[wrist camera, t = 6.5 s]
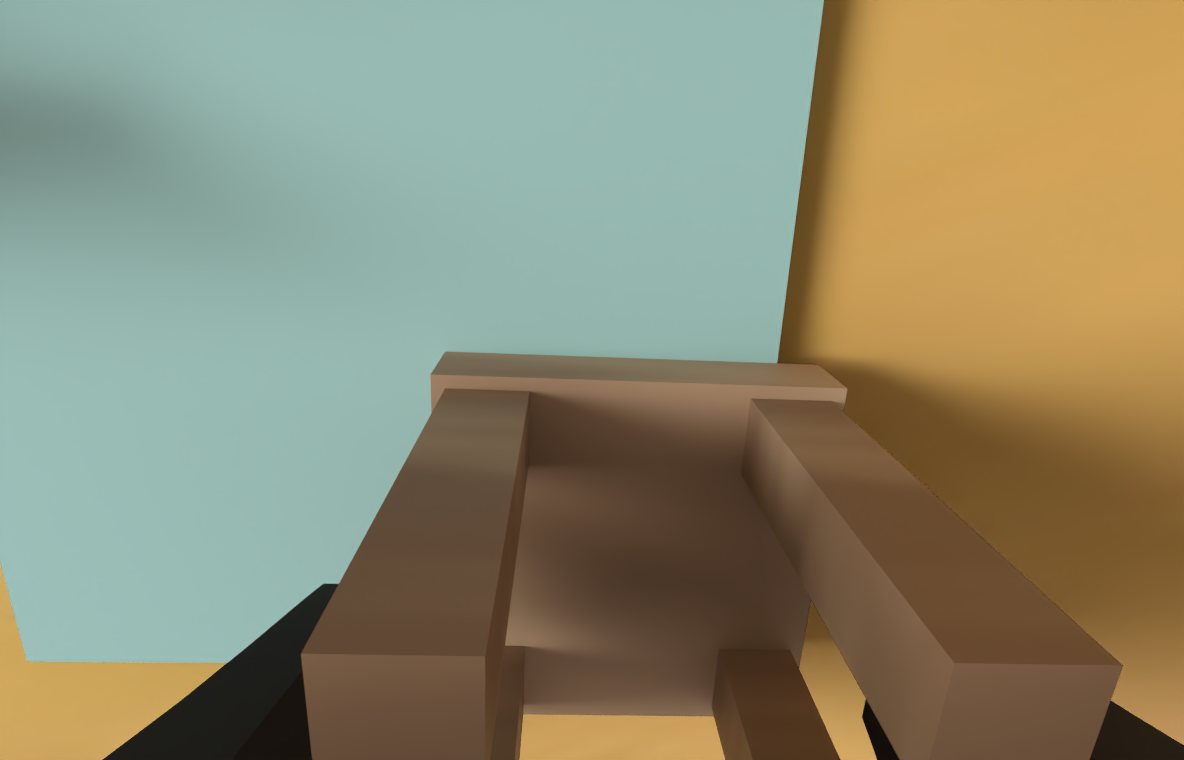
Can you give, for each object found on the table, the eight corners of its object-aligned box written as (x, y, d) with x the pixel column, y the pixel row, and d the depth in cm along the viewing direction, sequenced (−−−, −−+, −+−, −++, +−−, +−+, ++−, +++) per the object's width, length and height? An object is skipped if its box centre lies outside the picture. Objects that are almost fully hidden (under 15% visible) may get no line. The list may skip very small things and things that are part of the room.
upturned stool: (770, 666, 13) (967, 1158, 6) (452, 662, 12) (333, 1171, 6) (818, 365, 11) (1158, 642, 5) (445, 351, 11) (267, 628, 4)
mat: (731, 645, 13) (738, 666, 13) (51, 638, 13) (26, 661, 12) (849, -321, 9) (869, -354, 8) (-212, -399, 8) (-272, -442, 7)
